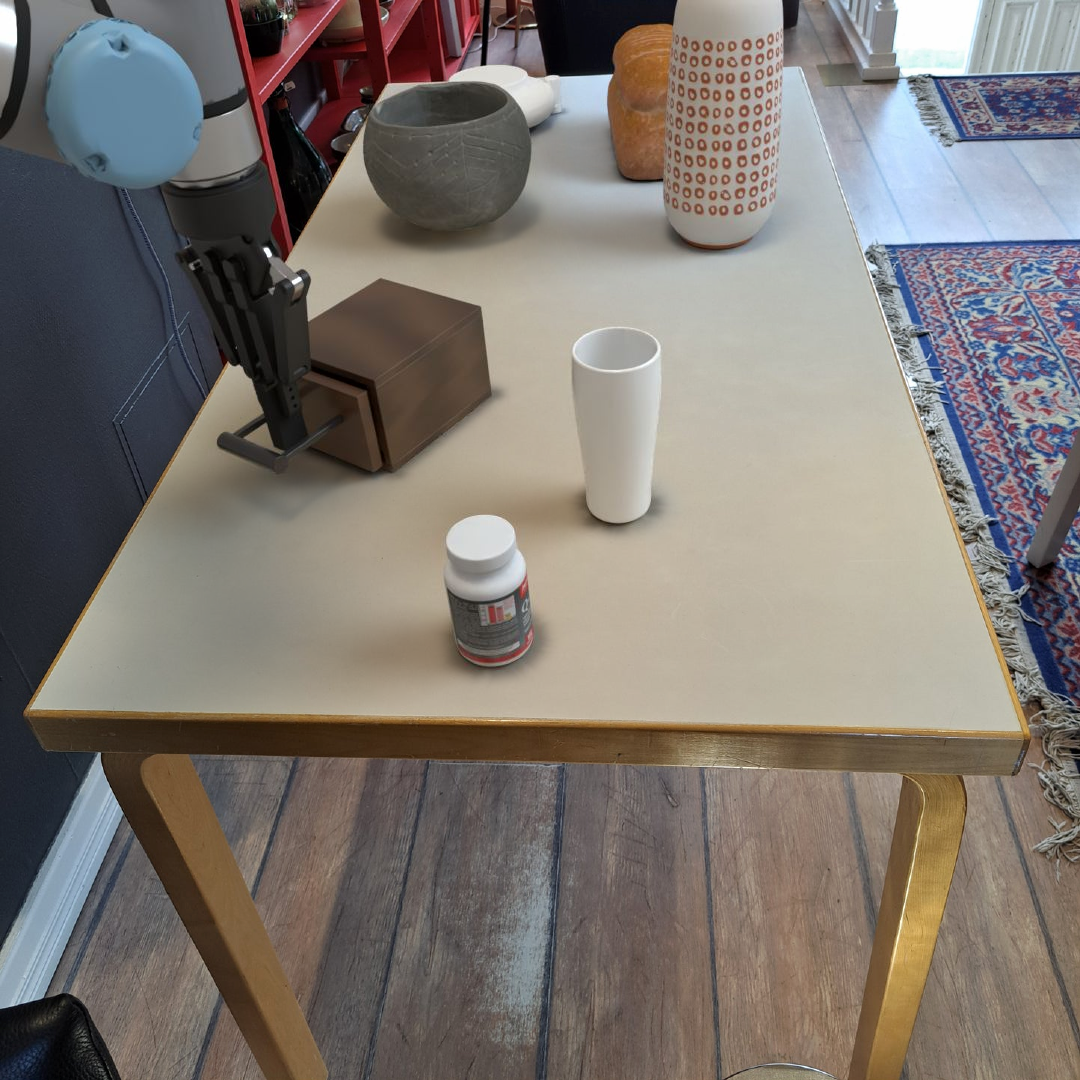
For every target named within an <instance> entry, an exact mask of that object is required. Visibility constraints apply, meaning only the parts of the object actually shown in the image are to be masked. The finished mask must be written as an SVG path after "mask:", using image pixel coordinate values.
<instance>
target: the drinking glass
mask: <svg viewBox="0 0 1080 1080" xmlns="http://www.w3.org/2000/svg"><path fill="white" fill-rule="evenodd" d="M661 348H662V347H661V344H660V342H659V340H657V338H656V337H655V336H654V335H652V334H651V333H649V332H647V331H645V330H642V329H639V328H635V327H628V326H607V327H601V328H597V329H594V330H592V331H589V332H587V333H585V334H583V335H581V336H579V338H577V339H576V340H575V341H574V342H573V344H572V346H571V348H570V349H571V350H570V376H571V377H570V381H571V394H572V395H571V396H572V402H573V403H572V404H573V405H572V406H573V412H574V419H575V424H576V431H577V437H578V438H577V439H578V443H579V450H580V457H581V463H582V470H583V477H584V485H585V499H586V505H587V508H588V510H589V512H590V513H591V514H592V515H593V516H594V517H596V518H597V519H599V520H601V521H603V522H607V523H611V524H626V523H630V522H633V521H636V520H638V519H640V518H641V517H643V516H644V515H645V514H646V512H648V510H649V508H650V506H651V501H652V480H653V471H654V463H655V462H654V461H655V453H656V444H657V437H658V436H657V435H658V428H659V427H658V425H659V418H660V417H659V416H660V410H661V397H662V382H663V381H662V379H663V378H662V376H663V375H662V373H663V371H662V349H661Z"/></svg>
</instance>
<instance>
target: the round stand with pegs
mask: <svg viewBox="0 0 1080 1080" xmlns="http://www.w3.org/2000/svg"><path fill="white" fill-rule="evenodd" d="M461 81H479V82H487V83H492V84H496V85H498V86H500V87H501V88H503V89H504V90H506V91H507V92H508V93H509V94H510V95H511V96H512V97H513V98H514V99H515V101H516V102H517V103H518V105H519V106H520V108H521V109H522V111H523V113H524V115H525V118H526V121H527V125H528V128H529V129H530V128H533V127H535V126H538V125H539V124H541V123H543V122H544V121H545V120H547V119H548V118H549V117H550V115H551V114H559V113H561V112H562V111H563V109H562V105H561V106H559V107H554V106H555V104H560V102H561V103H562V89H561V77H560V75H557V74H556V75H555V74H552V75H551V74H550V75H547V76H545V77H544V80H541V79H539V78H537V77H534V76H531V75H530V76H529V75H528V73H527V71H526V70H525V69H523V68H521V67H518V66H514V65H507V64H488V65H480V66H474V67H470V68H469V67H468V68H465V69H462V70H460V71H457V72H456V73H453V74H452V75H451V76H450V77H449V78H448V80H447V82H461Z"/></svg>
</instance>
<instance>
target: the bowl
mask: <svg viewBox="0 0 1080 1080" xmlns="http://www.w3.org/2000/svg"><path fill="white" fill-rule="evenodd" d="M362 154H363V155H362V156H363V164H364V167H365V171H366V174H367V176H368V179H369V182H370V185H372V188H373V190H374V191H375V193H376V195H377V196H378V197H379V199H380V200H381V201H382V202H383V203H384V204H385V206H386V207H387V208H389V209H390V210H391V211H392V212H393V213H395V214H396V215H398V216H399V217H401V218H403V219H405V220H407V221H409V222H410V223H412V224H414V225H417V226H419V227H421V228H425V229H427V230H432V231H441V232H442V231H443V232H445V231H448V232H449V231H454V232H455V231H463V230H464V231H465V230H470V229H476V228H479V227H483V226H485V225H488V224H491V223H493V222H494V221H496V220H498V219H499V218H502V216H503V215H505V214H506V213H507V212H508V211H509V210H510V209H511V208H512V207H513V206H514V205H515V204H516V202H518V200H519V198H520V197H521V195H522V193H523V191H524V189H525V186H526V183H527V179H528V175H529V172H530V166H531V161H532V138H531V133H530V128H528V125H527V121H526V118H525V115H524V113H523V111H522V109H521V108H520V106H519V105H518V103H517V102H516V101H515V99H514V98H513V97H512V96H511V95H510V94H509V93H508V92H507V91H506V90H504V89H503V88H501V87H500V86H498V85H496V84H492V83H487V82H479V81H461V82H448V81H447V82H441V83H429V84H427V83H425V84H418V85H416V86H413V87H410V88H408V89H405V90H403V91H400V92H398V93H396V94H394V95H392V96H389V97H387V98H385V99H383V100H381V101H379V102H378V103H377V104H376V105H375V106H373V107H372V108H371V109H370V111H369V113H368V115H367V117H366V122H365V127H364V131H363V140H362Z"/></svg>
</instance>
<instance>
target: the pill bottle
mask: <svg viewBox="0 0 1080 1080" xmlns="http://www.w3.org/2000/svg"><path fill="white" fill-rule="evenodd" d="M445 549H446V556H447V560H446V562H445V564H444V568H443V581H444V587H445V593H446V597H447V602H448V608H449V613H450V620H451V624H452V625H451V626H452V631H453V635H454V640H455V644H456V647H457V650H458V651H459V653H460V654H461V656H463V658H465V659H466V660H468V661H469V662H471V663H473V664H476V665H478V666H481V667H482V666H483V667H499V666H500V667H501V666H505V665H508V664H511V663H513V662H516V661H517V660H518V659H520V658H522V656H523V655H525V654H526V652H527V651H528V650H529V649H530V647H531V645H532V642H533V639H534V623H533V615H532V614H533V613H532V607H531V598H530V589H529V579H528V570H527V569H528V568H527V565H526V561H525V558H524V556H523V554H522V553H521V551H520V550H519V549H518V542H517V538H516V531H515V529H514V527H513V525H512V524H511V523H510V522H509V521H508V520H506V519H505V518H503V517H500V516H499V515H498V516H497V515H494V514H476V515H471V516H468V517H466V518H463V519H461V520H459V521H458V522H456V523H455V524H454V525H452V527H451V528H449V530H448V532H447V533H446V536H445Z"/></svg>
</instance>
